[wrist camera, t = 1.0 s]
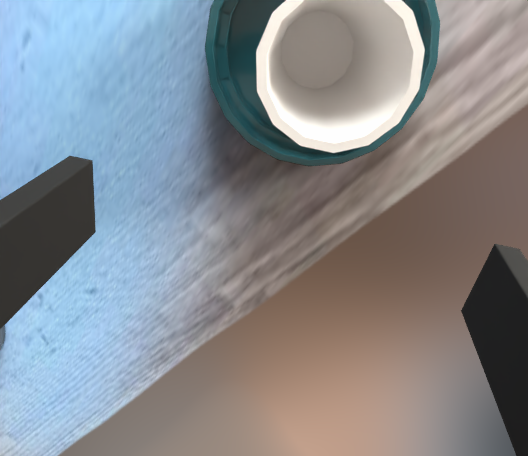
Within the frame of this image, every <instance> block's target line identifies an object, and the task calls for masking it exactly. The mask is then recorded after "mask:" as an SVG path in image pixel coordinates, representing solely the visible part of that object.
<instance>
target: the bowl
mask: <svg viewBox="0 0 528 456" xmlns="http://www.w3.org/2000/svg"><path fill="white" fill-rule="evenodd" d="M285 1H286V0H214V2H213V4H212V6H211V9H210V15H209V22H208V29H207V36H206V43H205V52H206V59H207V66H208V73H209V79H210V85H211V88H212V90H213V92H214V94H215V96H216V99H217V101H218V103H219V105H220V107H221V109H222V111H223V113H224V115H225V118H226V119H227V120H228V121H229V122H230V123H231V124H232V125H233V127H234V128H235V129H236V130H237V131H238V132H239V133H240V134H241V135H242V136H243V137H244V138H245V140H246V141H247V142H248V143H250V144H251V145H253V146H255V147H256V148H258V149H260V150H261V151H263V152H265V153H267V154H268V155H270V156H272V157H274V158H275V159H278V160H282V161H286V162H291V163H295V164H300V165H305V166H320V165H331V164H341V163H344V162H347V161H349V160H352V159H354V158H357V157H359V156H362V155H364V154H367V153H369V152H372V151H374V150H375V149H377V148H378V147H379V146H380V145H382V144H383V143H384V142H386V141H387V140H388V139H389V138H391V137H392V136H393V135H395V134H396V133H397V132H398V131H400V130H401V129H402V128H403V126H404V125H405V124H406V122H407V121H408V120H409V118H410V117H411V115H412V114H413V113H414V111H415V110H416V109H417V107H418V106H419V105H420V103H421V102H422V100H423V98H424V96H425V94H426V91H427V88H428V86H429V83H430V80H431V78H432V75H433V72H434V70H435V67H436V64H437V63H436V62H437V58H438V44H439V31H440V20H439V16H438V11H437V7H436V3H435V0H402V1H403V2H404V3H405V4H406V5H407V6H408V7H409V8H410V9H411V10H412V11H413V13H414V16H415V19H416V23H417V26H418V29H419V32H420V36H421V39H422V42H423V45H424V49H425V52H424V59H423V66H422V73H421V80H420V87H419V91H418V92H417V94H416V96H415V97H414V99H413V101H412V102H411V104H410V105H409V107H408V109H407V110H406V112H405V114H404V115H403V117H402V119H401V120H400V122H399V123H398V124H397V125H396V126H394V127H393V128H391V129H390V130H389V131H387V132H386V133H385V134H383V135H382V136H380V137H379V138H378V139H376V140H375V141H374V142H372V143H371V144H370V145H367V146H363V147H358V148H354V149H350V150H345V151H341V152H336V153H331V152H327V151H322V150H317V149H313V148H308V147H303V146H300V145H299V144H297V143H296V142H295V141H294V140H292V139H291V138H290V137H288V136H287V135H286V134H285V133H283V132H282V131H281V130H280V129H278V128H277V127H276V126H274V125H273V123H272V121H271V119H270V117H269V115H268V113H267V111H266V109H265V107H264V105H263V103H262V101H261V99H260V97H259V95H258V93H257V69H256V51H257V47H258V45H259V43H260V40H261V38H262V36H263V33H264V31H265V29H266V26H267V24H268V22H269V19H270V17H271V15H272V12H274V11H275V10H276V9H277V8H278V7H279V6H280V5H281V4H282V3H284V2H285Z"/></svg>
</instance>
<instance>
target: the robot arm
mask: <svg viewBox="0 0 528 456" xmlns="http://www.w3.org/2000/svg"><path fill="white" fill-rule="evenodd" d="M94 233H95V209H94V186H93V164H92V160H88V159H83V158H78V157H73V156H69V157H67V158H66V159H64V160H63V161H61V162H60V163H58V164H56V165H55V166H53V167H52V168H50V169H49V170H47V171H45V172H44V173H42V174H41V175H39V176H38V177H36V178H35V179H33V180H31V181H30V182H28V183H27V184H25V185H24V186H22V187H20V188H19V189H17V190H16V191H14V192H13V193H11V194H9V195H8V196H6V197H5V198H3V199H2V200H0V349H1V348H2V345H3V343H4V339H5V326H4V325H5V324H6V323H7V322H8V321H9V320H10V319H11V318H12V317H13V316H14V315H15V314H16V313H17V312H18V311H19V310H20V309H21V308H22V306H23V305H24V304H25V303H26V302H27V301H28V300H29V299H30V298H31V297H32V296H33V295H34V294H35V293H36V292H37V291H38V290H39V289H40V288H41V287H42V286H43V285H44V284H45V283H46V282H47V281H48V280H49V279H50V278H51V277H52V276H53V275H54V274H55V273H56V272H57V271H58V270H59V269H60V268H61V267H62V266H63V265H64V264H65V263H66V262H67V261H68V260H69V258H70V257H71V256H72V255H73V254H74V253H75V252H76V251H77V250H78V249H79V248H80V247H81V246H82V245H83V244H84V243H85V242H86V241H87V240H88V239H89V238H90V237H91V236H92V235H93V234H94ZM461 311H462V314H463V316H464V319H465V322H466V324H467V327H468V330H469V332H470V335H471V338H472V340H473V343H474V346H475V348H476V351H477V353H478V356H479V359H480V361H481V364H482V366H483V369H484V372H485V374H486V377H487V380H488V382H489V385H490V388H491V390H492V392H493V395H494V398H495V401H496V403H497V406H498V408H499V411H500V413H501V416H502V419H503V421H504V424H505V427H506V429H507V432H508V434H509V437H510V440H511V442H512V445H513V448H514V450H515V453H516V456H528V261H527V259H526V258H525V257H524V255H523V254H522V252H521V251H520V249H517V248H512V247H508V246H503V245H498V244H494V246H493V248H492V250H491V252H490V254H489V256H488V259H487V260H486V262H485V264H484V266H483V268H482V270H481V272H480V274H479V276H478V278H477V280H476V282H475V284H474V286H473V288H472V290H471V292H470V294H469V296H468V298H467V300H466V302H465V304H464V307H463V308H462V310H461Z"/></svg>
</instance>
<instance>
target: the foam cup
mask: <svg viewBox="0 0 528 456" xmlns="http://www.w3.org/2000/svg"><path fill="white" fill-rule="evenodd" d="M424 52H425V49H424V45H423V42H422V39H421V36H420V32H419V29H418V26H417V23H416V19H415V16H414V13H413V11H412V10H411V9H410V8H409V7H408V6H407V5H406V4H405V3H404V2H403V1H402V0H286V1H285V2H284V3H282V4H281V5H280V6H279V7H278V8H277V9H276V10H275V11H274V12H272V15H271V17H270V19H269V22H268V24H267V26H266V29H265V31H264V33H263V36H262V38H261V40H260V43H259V45H258V47H257V51H256V69H257V93H258V95H259V97H260V99H261V101H262V103H263V105H264V107H265V109H266V111H267V113H268V115H269V117H270V119H271V121H272V123H273V125H274V126H276V127H277V128H278V129H280V130H281V131H282V132H283V133H285V134H286V135H287V136H288V137H290V138H291V139H292V140H294V141H295V142H296V143H297V144H299V145H300V146H303V147H308V148H313V149H317V150H322V151H327V152H331V153H336V152H341V151H345V150H350V149H354V148H358V147H363V146H367V145H370V144H371V143H372V142H374V141H375V140H376V139H378V138H379V137H380V136H382V135H383V134H385V133H386V132H387V131H389V130H390V129H391V128H393V127H394V126H396V125H397V124H398V123H399V122H400V120H401V119H402V117H403V115H404V114H405V112H406V110H407V109H408V107H409V105H410V104H411V102H412V101H413V99H414V97H415V96H416V94H417V92H418V91H419V87H420V80H421V73H422V66H423V59H424Z"/></svg>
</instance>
